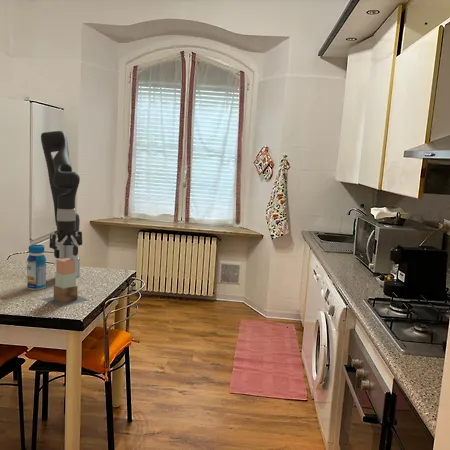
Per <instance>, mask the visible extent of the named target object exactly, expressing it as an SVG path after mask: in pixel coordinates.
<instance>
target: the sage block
mask: <svg viewBox="0 0 450 450" xmlns="http://www.w3.org/2000/svg"><path fill="white" fill-rule="evenodd" d="M54 280H55V281H54V282H55V283H54V286H57V287H60V288H63V289H65V288H70V287H75V286H77V277H76V273H70V274H65V275H63V274H60V273H57V272H55V276H54Z"/></svg>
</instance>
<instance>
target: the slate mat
mask: <svg viewBox="0 0 450 450" xmlns="http://www.w3.org/2000/svg"><path fill="white" fill-rule="evenodd" d="M42 300H43V301H44V302H48V303H50V304H52V305H55V306H57V307H59V308H62V307H65V306H70V305H75V304H79V303H82V302H87V301H89V299H88V298H85V297H83V296H79V295H77V300H74V301H70V302H66V303H61V302H59V301H56V300H54V296H50V297H46V298H42Z"/></svg>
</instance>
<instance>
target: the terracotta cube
mask: <svg viewBox="0 0 450 450" xmlns="http://www.w3.org/2000/svg"><path fill="white" fill-rule="evenodd" d="M55 262H56V265H55V267H56V269H55V270H56V272H57V273H60V274H63V275H65V274H70V273H75V260H73V259H70V258H64V259H59V258H58V259H57V258H56V260H55Z"/></svg>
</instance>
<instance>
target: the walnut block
mask: <svg viewBox="0 0 450 450" xmlns="http://www.w3.org/2000/svg"><path fill="white" fill-rule="evenodd" d="M77 296H78V285H76V286H75V287H70V288H65V289H63V288H60V287H57V286H55V285H53V297H54V300H56V301H59V302H61V303H66V302H70V301H74V300H77Z"/></svg>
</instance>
